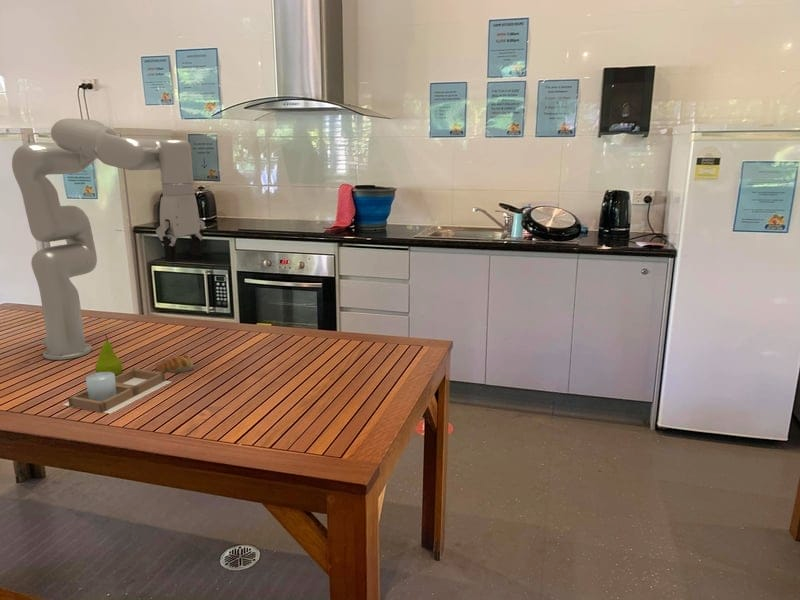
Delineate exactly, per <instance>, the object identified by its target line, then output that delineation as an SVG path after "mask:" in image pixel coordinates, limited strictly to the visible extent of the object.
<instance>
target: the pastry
mask: <svg viewBox="0 0 800 600" xmlns="http://www.w3.org/2000/svg"><path fill="white" fill-rule="evenodd" d="M193 369H194V363H193V361H192V359H191V356H190V355H189V354H184V355H178V356H173V357H171V358H169V359H167V360H165V361H162V362H161V363H159V364H157V365H156V366H155V372H161V373H168V374H169V373H171V374H179V373H185V372H189V371H192V370H193Z"/></svg>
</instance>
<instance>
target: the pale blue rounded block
mask: <svg viewBox="0 0 800 600" xmlns="http://www.w3.org/2000/svg"><path fill="white" fill-rule="evenodd" d="M85 382H86V384H85V385H86V389H87V391H88V399H91V400H96V401H104V400H106V399H108V398H110V397H113V396H115V395H117V390H116V382H115V374H114V373H112V372H99V373H96V372H95V373H92V374H89V375H87V376H86V377H85Z"/></svg>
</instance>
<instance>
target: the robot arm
mask: <svg viewBox="0 0 800 600" xmlns="http://www.w3.org/2000/svg"><path fill="white" fill-rule="evenodd" d="M50 137H51V138H52V141H53V142H46V141H44V142H43V141H42V142H41V141H39V142H38V141H37V142H29V143H25V144H23V145H20V146H19V147H17V149H16V150H15V151H14V153H13V155H12V157H11V167H12V173H13V175H14V179H15V180H16V183H17V184H18V187H19V190H20V192H21V195H22V200H23V205H24V208H25V215H26V218H27V223H28V227H29V230H30V233H31V236H32V237H33V238H34V240H36V241H38V242H41V243H50V242H58V241H59V242H60V241H66V244H59V245H53V246H48V247H44V248H42V249H39V250H38V251H36V252H34V254H33V255H32V258H31V262H30V263H31V268H32V271H33V274H34V277H35V279H36V282H37V286H38V290H39V295H40V300H41V301H40V302H41V307H42V313H43V320H44V328H45V333H46V336H45V337H44V339H42V340H41V341H40V345H43V346H45V347H46V349H45V350H44V351H43V352H42V355H43V358H44V359H47V360H52V361H53V360H54V361H61V360H62V361H63V360H70V359H76V358H80V357H83V356H86V355H88V354H89V353H91V352H92V350H93V346H92V344H89V343H86V338H85V337H86V336H85V329H84V323H83V314H82V308H81V300H80V294H79V291H78V289H77V287H76V286H75V285H74V284H73V282H72V281H71V280H70V278H73V277H74V278H75V277H78V276H83V275H86V274H89V273H91V272H92V271H94V269H95V268H96V266H97V262H98V256H97V251H96V247H95V241H94V236H93V231H92V226H91V223H90V219H89V218H88V217H89V216H88V215H87V214H86V213H85V211H84V210H83V209H82V208H80V207H79V206H76V205H61V202H60V199H59V194H58V190H57V188H56V187H55V185H54V184H53V182H51V180H50V179H49V178H48V177H47V176H48V175H72V174H78V173H81V172H83V171H84V170H86V169H87V168H88V167H89V166H90V165H91V164H92V163H93V162H94V161H95V160H96V159H98V160H99V161H100V162H101V163H103V164H104V165H106V166H110V167H115V168H118V169H123V170H128V171H153V170H154V171H157V170H160V179H161V180H160V181H161V189H162V190H161V191H162V196H161V197H160V203H159V226H158V227H157V228H156V229H155V233H156V235H157V237H158V240H159V242H160V243H161V245H162V246H163V248H164V249H163V251H164V261H166V262H169V263H177V262H178V251H177V250H178V249H177V245H175V244H176V241H177V239H178V238H185V237H187V236H188V237H189V238H190V240H189V250H190V255H191V256H197V257H198V256H199V257H200V256H203V248H202V240H203V234H204V233H205V231H204V230H205V227H206V226H205V225H206V223H205V221H203V220H202V219H200V214H199V208H198V207H199V206H198V202H197V199H196V195H195V186H194V174H193V160H192V159H193V158H192V148H191V144H190V142H189V141H188V140H186V139H185V140H184V139H157V138H130V137H125V136H124V137H123V136H119V135H118V134H117V133H116V131H115V130H114V129H113V128H111V127H109V126H106V125H105V124H103V123H102V122H100V121H98V120H95V119H85V118H84V119H83V118H63V119H60V120H58V121H56V122H55V123H54V124H53V125H52V127H51V129H50Z"/></svg>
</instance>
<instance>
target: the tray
mask: <svg viewBox="0 0 800 600" xmlns="http://www.w3.org/2000/svg"><path fill="white" fill-rule="evenodd" d="M165 373H166V372H161V371H152V370H146V369H140V368H132V369H129V370H126V371H125V372H121V374H119V375H117V376H115V382H116V390H117V395H115V396H113V397H110V398H108V399H106V400H104V401H96V400H91V399H88V391H87V388H86V389H84V390H83V391H80V392H77V393H75V394H73V395H71V396H69V397H67V400H68V401H67V402H66V403H63V404H62V406H67V407H72V408H79V409H84V410H88V411H93V412H98V413H99V412H100V413H106V414H113V413H114V412H116V411H118V410H120V409H122V408H124V407H126V406H128V405H130V404H132V403H133V402H136V401H138V400H139V399H142V398H144V397H146V396H147V395H150V394H152V393H153V392H155V391H157V390H158V389H159V390H160V389H161V388H163V387H164V386H167V385H169V384H171V383H172V380H171V381H170V380H166V374H165Z"/></svg>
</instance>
